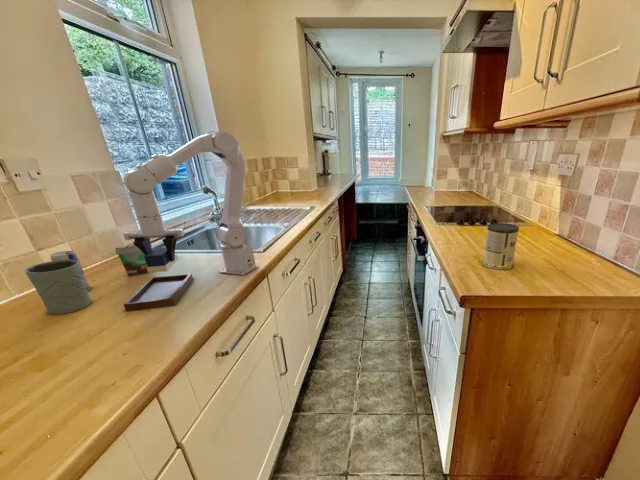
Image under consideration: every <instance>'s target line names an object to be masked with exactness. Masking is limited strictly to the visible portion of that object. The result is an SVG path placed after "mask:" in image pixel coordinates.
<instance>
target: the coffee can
mask: <svg viewBox="0 0 640 480" xmlns="http://www.w3.org/2000/svg"><path fill="white" fill-rule="evenodd" d="M519 230H520V227H519V226H518V225H515V224H513V223H512V224H511V223H504V222H493V223H489V224H488V225H487V231H486V239H485V246H484V255H483V262H482V264H483V266H484V267H487V268H489V269H494V270H509V269H511V268H513V264H514V257H515V252H516V246H517V240H518V234H519ZM486 263H487V264H486ZM488 264H490V265H488ZM491 265H494V266H491ZM510 265H511V266H510ZM497 266H507V267H497Z"/></svg>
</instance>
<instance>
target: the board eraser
mask: <svg viewBox="0 0 640 480" xmlns="http://www.w3.org/2000/svg"><path fill="white" fill-rule="evenodd" d="M144 258H145V261H146V264H147V271H148V272H147V273H149V274H150V273H162V272H163V273H164V272H168V271H169V270H170V269H171V268H172V267H173V266H174V265H175V264H176V262H178V260H179V256H178V254H176V253H175V260H174V261H170V259H169V255H168V252H167V249H166V247H155V248H153V249H152V251H151V252H149V253H148V254H147V255H145V256H144Z"/></svg>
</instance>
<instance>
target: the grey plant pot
mask: <svg viewBox="0 0 640 480" xmlns="http://www.w3.org/2000/svg"><path fill="white" fill-rule="evenodd" d="M79 263H80V261H79V260H78V261H77V260H57V261H45V262H42V263H41V262H40V263H37V264H34V265H31V266H29V267H26V268H25V269H24V272H25V274H26V276H27V278H28V279H29V281H30V283H31V284H32V286H33V287H34V289H35V290H36V292H37V294H38V296H39V297H40V299H41V300H42V302H43V305H44V307H45V309H46V310H47V312H48V313H49V314H51V315H63V314H69V313H73V312H76V311H80V310H82V309H84V308H86V307H88V306H90V305H91V302H92V301H91V297H90V295H89V291H87V290H86V285H85V283H84V278H83V274H82V271H81V268H82V266H81V267H80V265H81V263H80V264H79Z"/></svg>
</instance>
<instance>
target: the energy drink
mask: <svg viewBox="0 0 640 480" xmlns="http://www.w3.org/2000/svg"><path fill="white" fill-rule="evenodd" d="M50 260H51V261H57V260H77V261H79V259H78V256H77V253H75V251H73V250H64V251H58V252H54V253H51V254H50ZM79 264H80V267H81V271H82V274H83V278H84V283H85V285H86V290H87V292H89V291H90V289H91V286H90V284H89V282H88V279H87V277H86V275H85V273H84V270H83V268H82V265H81V263H80V262H79Z"/></svg>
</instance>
